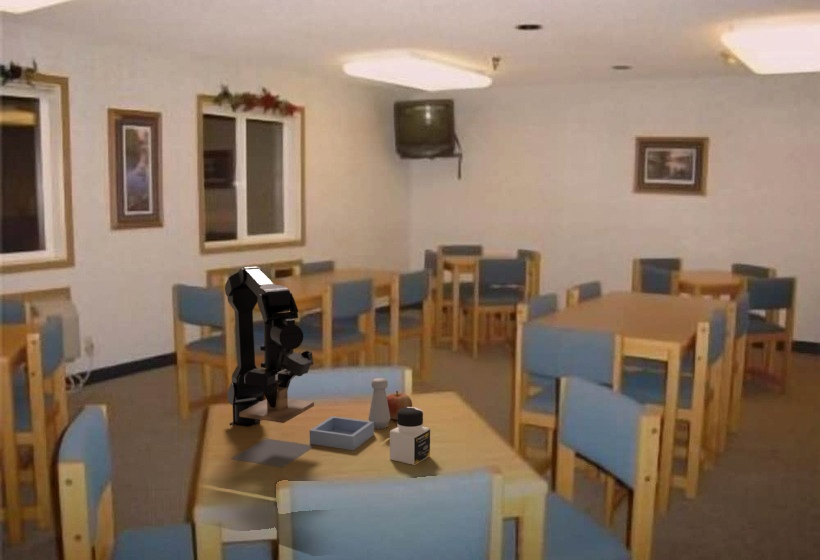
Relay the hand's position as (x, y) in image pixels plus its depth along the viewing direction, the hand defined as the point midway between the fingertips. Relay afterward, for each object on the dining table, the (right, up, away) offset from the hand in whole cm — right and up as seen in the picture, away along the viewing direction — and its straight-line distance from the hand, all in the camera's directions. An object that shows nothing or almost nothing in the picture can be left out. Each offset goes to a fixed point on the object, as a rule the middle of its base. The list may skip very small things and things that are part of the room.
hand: (277, 404), depth 183 cm
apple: (+28, -9, +28) cm, 41 cm away
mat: (-1, -12, +1) cm, 12 cm away
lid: (0, -2, 0) cm, 2 cm away
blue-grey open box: (+15, -11, +10) cm, 21 cm away
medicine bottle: (+32, -13, -1) cm, 34 cm away
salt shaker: (+24, -10, +22) cm, 34 cm away
